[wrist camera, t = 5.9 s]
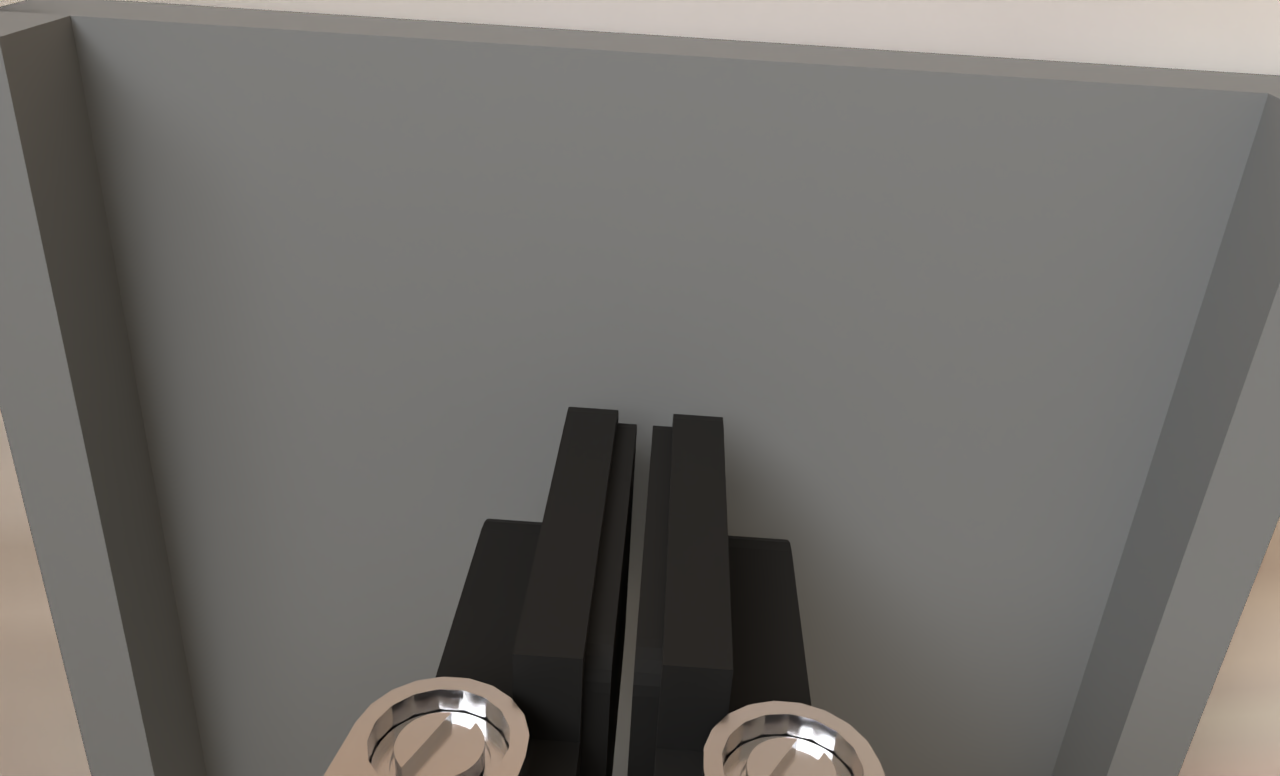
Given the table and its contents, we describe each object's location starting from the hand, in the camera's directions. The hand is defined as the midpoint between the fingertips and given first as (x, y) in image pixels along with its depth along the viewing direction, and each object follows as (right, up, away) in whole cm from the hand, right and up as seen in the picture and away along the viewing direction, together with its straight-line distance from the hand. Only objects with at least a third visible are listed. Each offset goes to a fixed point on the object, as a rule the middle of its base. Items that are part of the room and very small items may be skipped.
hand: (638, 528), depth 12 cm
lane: (0, -4, +4) cm, 5 cm away
